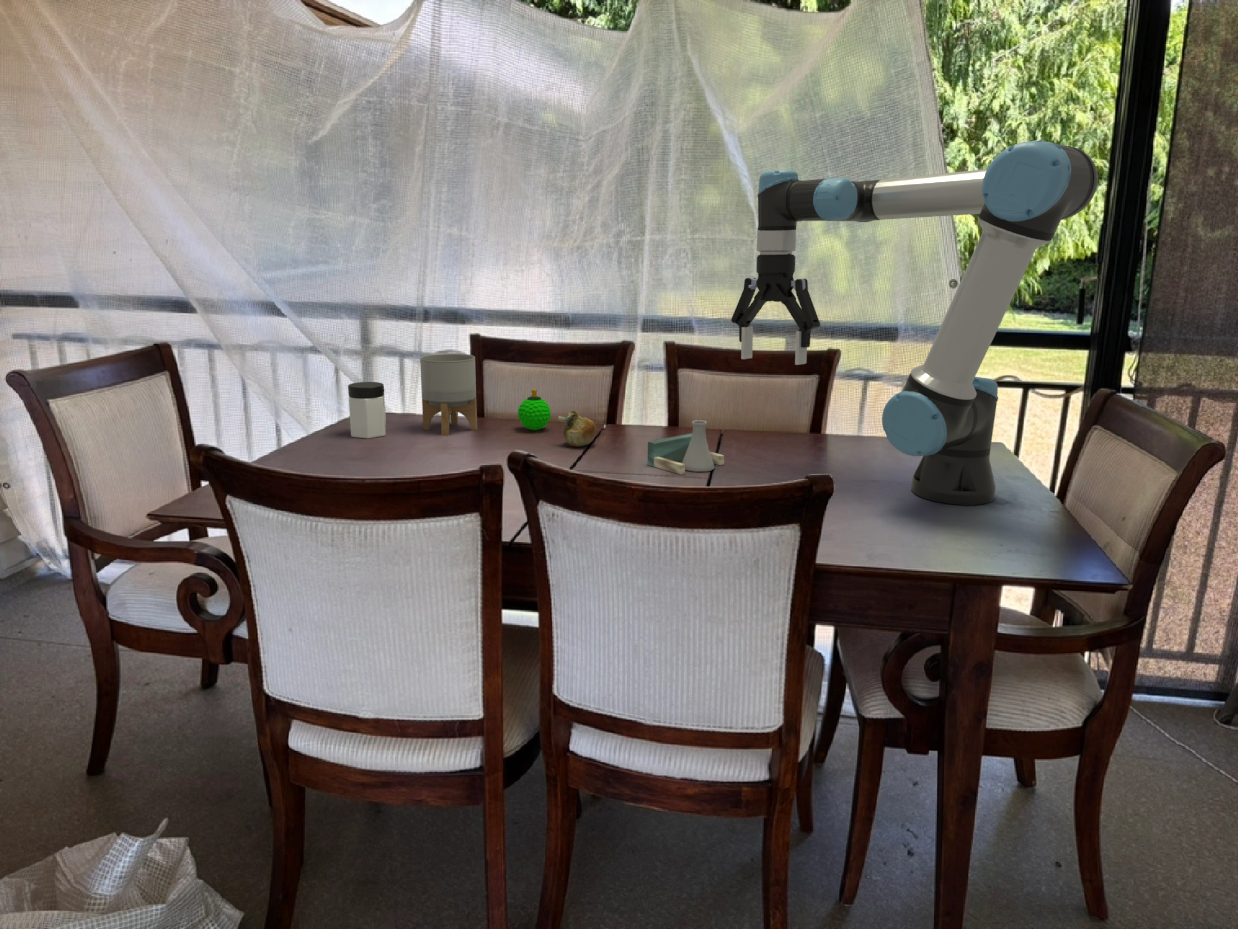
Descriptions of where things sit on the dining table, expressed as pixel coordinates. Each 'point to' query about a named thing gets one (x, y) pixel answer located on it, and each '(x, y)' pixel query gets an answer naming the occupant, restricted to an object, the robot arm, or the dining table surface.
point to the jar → (367, 409)
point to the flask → (698, 450)
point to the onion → (578, 429)
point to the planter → (448, 389)
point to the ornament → (534, 412)
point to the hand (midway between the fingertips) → (772, 361)
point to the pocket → (673, 453)
